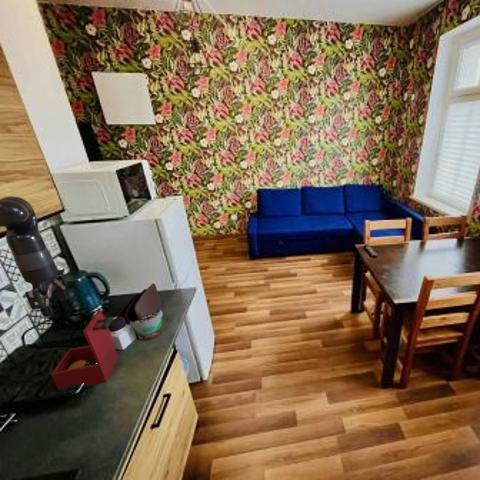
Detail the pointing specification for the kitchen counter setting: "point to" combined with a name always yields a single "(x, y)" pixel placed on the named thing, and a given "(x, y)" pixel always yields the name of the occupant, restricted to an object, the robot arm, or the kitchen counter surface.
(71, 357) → the maroon rectangular box
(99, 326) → the box lid
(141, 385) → the kitchen counter surface
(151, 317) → the food container
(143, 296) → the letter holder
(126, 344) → the medicine bottle
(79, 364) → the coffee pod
